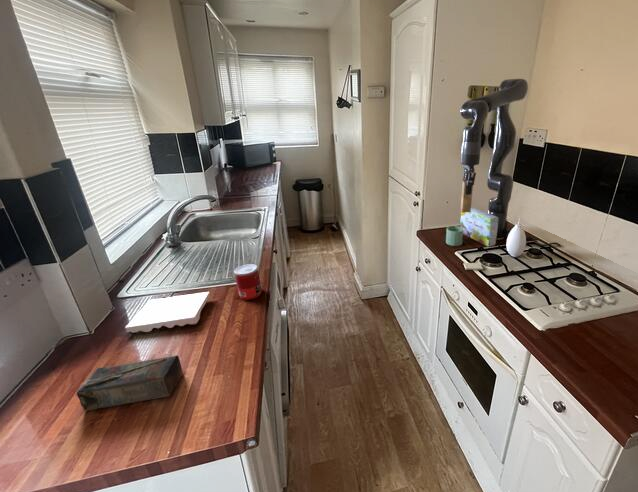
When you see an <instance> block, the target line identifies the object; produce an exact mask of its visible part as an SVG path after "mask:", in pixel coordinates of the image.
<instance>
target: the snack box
mask: <svg viewBox="0 0 638 492" xmlns="http://www.w3.org/2000/svg"><path fill="white" fill-rule="evenodd" d="M459 223H460V224H459V227H462V228H463V229H464V231H463V235H464V236H466V237H468V238H470V239H472V240H474V241H476V242H478V243H480V244H482V245H483V246H485V247H488V248H489V247H493V246H496V244H497V240H496V236H497V227H498V217H496V216H494V215H491V214H489V213H488V212H486V211H484V210H481V209H478V208H476V207H474V206H471V212H462V211H461V210H460V221H459Z"/></svg>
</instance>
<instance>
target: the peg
mask: <svg viewBox="0 0 638 492" xmlns="http://www.w3.org/2000/svg"><path fill="white" fill-rule="evenodd" d="M469 182H471V181H469ZM461 186H462V187H461V197H460V212H461V211H462V212H471V207H472V203H473V202H472V201H473V190H474V185H472V190H471V194H470V195H466V181H463V180H462V185H461Z"/></svg>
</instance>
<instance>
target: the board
mask: <svg viewBox="0 0 638 492" xmlns="http://www.w3.org/2000/svg"><path fill="white" fill-rule="evenodd" d="M462 265H463V267H464V269H465V271H483V270H484V268H483V266H482V264H481V263H480V262H463V264H462Z"/></svg>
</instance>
